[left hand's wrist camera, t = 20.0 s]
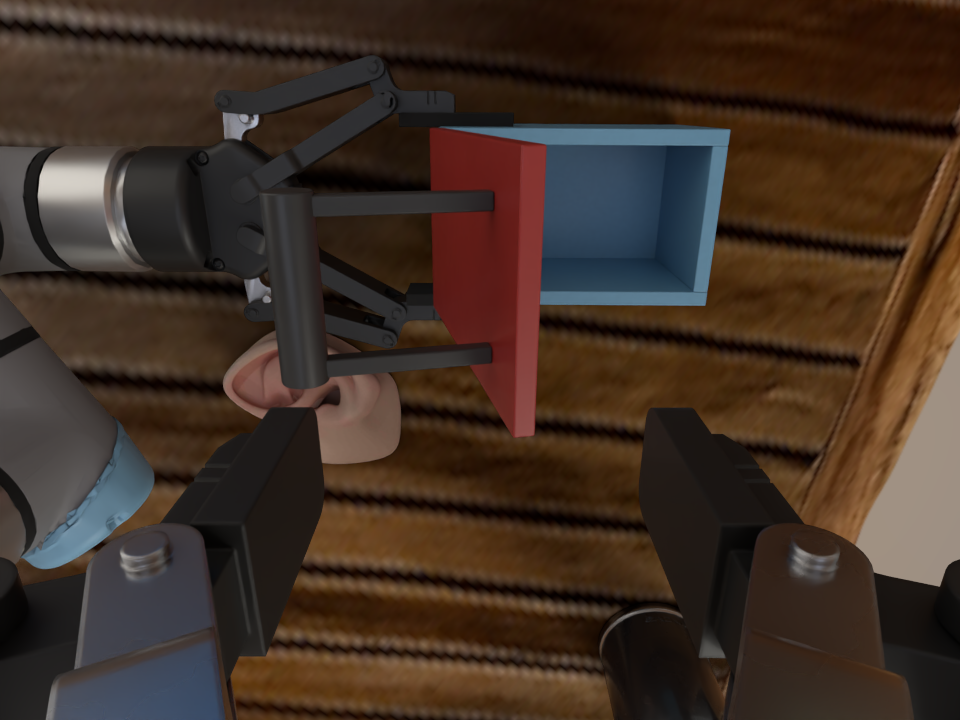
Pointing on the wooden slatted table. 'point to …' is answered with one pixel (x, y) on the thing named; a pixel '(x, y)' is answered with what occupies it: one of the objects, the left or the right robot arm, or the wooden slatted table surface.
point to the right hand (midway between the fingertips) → (510, 211)
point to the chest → (626, 210)
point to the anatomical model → (323, 402)
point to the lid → (456, 270)
